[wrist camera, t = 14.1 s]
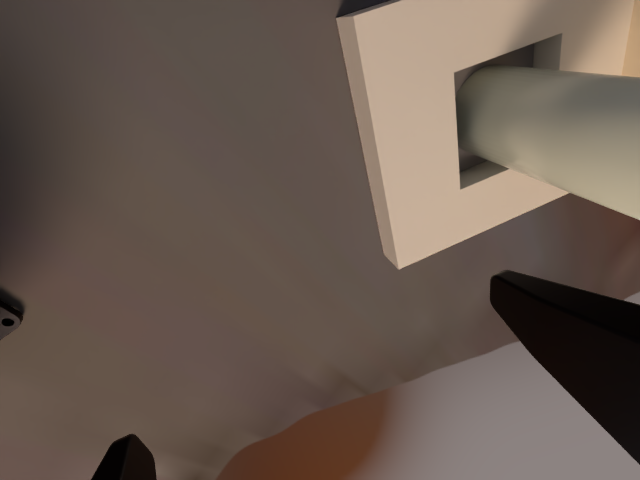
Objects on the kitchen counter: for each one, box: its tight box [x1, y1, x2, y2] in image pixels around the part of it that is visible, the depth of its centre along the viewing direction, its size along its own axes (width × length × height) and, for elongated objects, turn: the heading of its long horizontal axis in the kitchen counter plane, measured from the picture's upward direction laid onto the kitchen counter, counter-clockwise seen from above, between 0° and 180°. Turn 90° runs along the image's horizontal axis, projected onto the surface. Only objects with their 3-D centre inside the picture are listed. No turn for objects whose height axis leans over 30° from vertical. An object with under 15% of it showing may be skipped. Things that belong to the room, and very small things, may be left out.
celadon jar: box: [455, 65, 640, 220], centre depth 16 cm, size 5×5×14 cm
